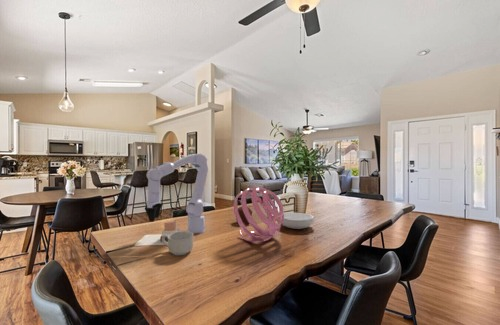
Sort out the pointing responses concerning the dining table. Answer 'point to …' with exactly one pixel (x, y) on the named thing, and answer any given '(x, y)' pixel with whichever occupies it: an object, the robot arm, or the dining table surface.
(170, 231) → the cream block
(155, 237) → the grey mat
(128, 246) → the dining table surface
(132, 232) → the dining table surface
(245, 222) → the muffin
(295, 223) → the serving bowl
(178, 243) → the teacup
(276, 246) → the dining table surface
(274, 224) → the pink lattice sphere
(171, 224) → the terracotta block
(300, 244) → the dining table surface
